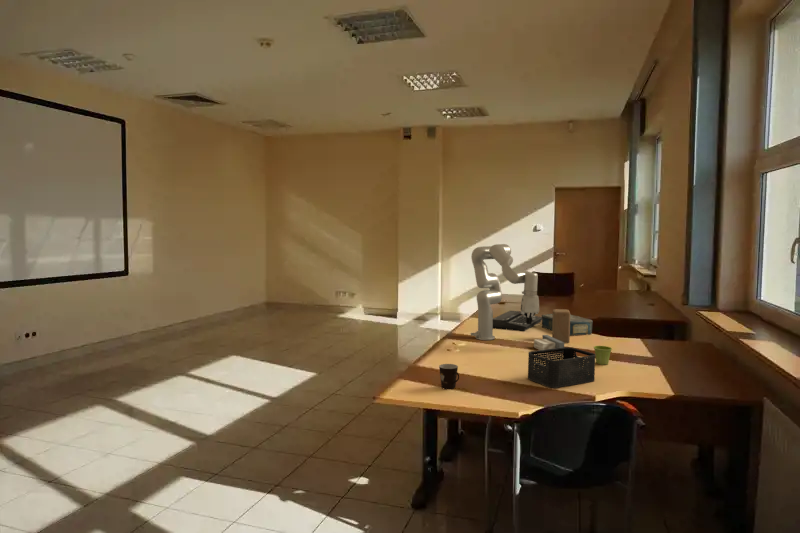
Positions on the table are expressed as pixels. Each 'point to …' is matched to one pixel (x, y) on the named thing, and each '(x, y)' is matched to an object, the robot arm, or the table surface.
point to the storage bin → (561, 367)
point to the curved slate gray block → (558, 343)
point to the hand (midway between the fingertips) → (528, 323)
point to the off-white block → (544, 344)
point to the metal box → (576, 324)
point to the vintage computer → (514, 321)
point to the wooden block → (561, 325)
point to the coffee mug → (448, 375)
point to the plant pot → (602, 354)
